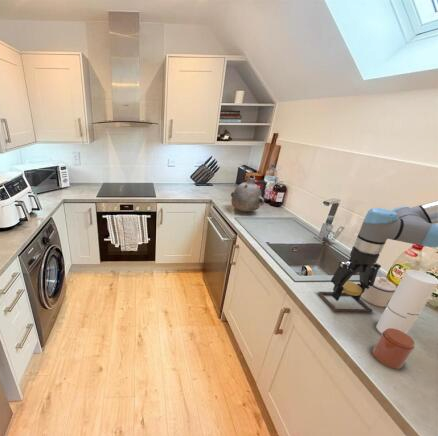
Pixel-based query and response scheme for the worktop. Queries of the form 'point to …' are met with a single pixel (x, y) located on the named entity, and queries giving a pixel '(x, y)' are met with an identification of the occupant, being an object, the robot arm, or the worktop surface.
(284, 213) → the worktop surface
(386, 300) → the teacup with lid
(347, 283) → the jar lid
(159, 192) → the worktop surface
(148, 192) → the worktop surface
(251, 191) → the jug
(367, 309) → the dark rectangular frame
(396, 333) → the jar
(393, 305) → the cylindrical container
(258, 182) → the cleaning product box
